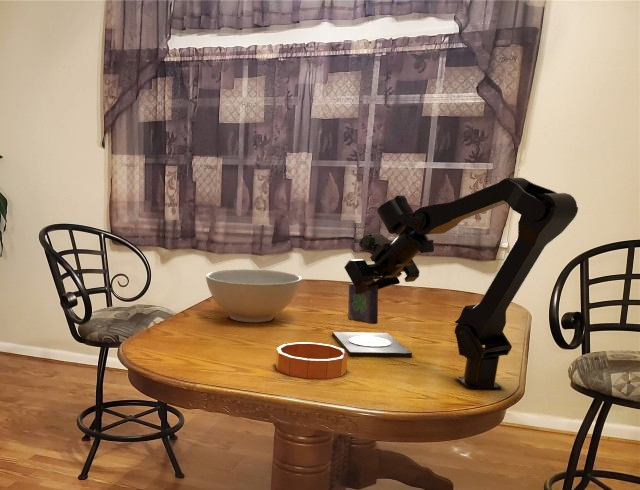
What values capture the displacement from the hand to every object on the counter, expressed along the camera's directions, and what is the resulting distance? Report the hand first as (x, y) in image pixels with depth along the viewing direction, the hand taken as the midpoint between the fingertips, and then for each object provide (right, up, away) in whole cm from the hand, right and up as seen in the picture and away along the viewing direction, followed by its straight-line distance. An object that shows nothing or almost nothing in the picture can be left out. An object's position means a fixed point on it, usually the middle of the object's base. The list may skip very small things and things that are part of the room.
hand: (361, 292), depth 164 cm
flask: (+1, -7, +1) cm, 7 cm away
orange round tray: (-16, -19, -14) cm, 29 cm away
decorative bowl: (-20, -3, +35) cm, 40 cm away
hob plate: (+3, -13, +4) cm, 14 cm away
